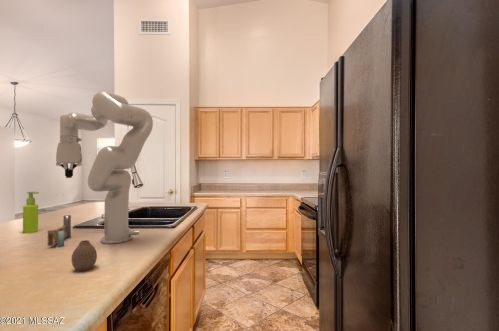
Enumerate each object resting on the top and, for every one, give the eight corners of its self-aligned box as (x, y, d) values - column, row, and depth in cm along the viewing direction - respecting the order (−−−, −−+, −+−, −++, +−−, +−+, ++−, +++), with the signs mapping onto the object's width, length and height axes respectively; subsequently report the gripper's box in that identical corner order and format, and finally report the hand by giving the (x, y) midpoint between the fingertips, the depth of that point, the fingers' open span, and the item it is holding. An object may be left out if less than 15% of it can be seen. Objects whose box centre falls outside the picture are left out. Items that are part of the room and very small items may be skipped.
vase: (91, 263, 91) (91, 237, 91) (100, 268, 87) (100, 240, 87) (68, 269, 86) (68, 241, 86) (76, 274, 82) (76, 245, 82)
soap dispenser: (31, 233, 131) (31, 192, 132) (19, 233, 133) (20, 192, 133) (42, 231, 137) (43, 191, 137) (31, 230, 139) (31, 191, 139)
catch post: (64, 245, 112) (64, 230, 112) (63, 246, 110) (63, 231, 110) (59, 245, 112) (59, 231, 112) (57, 247, 110) (57, 232, 110)
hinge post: (71, 236, 126) (71, 215, 126) (69, 238, 124) (69, 216, 124) (64, 237, 125) (64, 215, 125) (62, 238, 123) (62, 216, 123)
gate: (62, 236, 122) (62, 223, 122) (68, 236, 123) (68, 223, 123) (47, 245, 108) (47, 230, 108) (54, 245, 108) (54, 230, 108)
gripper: (88, 141, 140) (88, 177, 139) (54, 140, 135) (53, 177, 135) (84, 140, 133) (84, 177, 132) (48, 139, 128) (48, 178, 128)
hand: (69, 177), depth 134 cm, fingers closed
